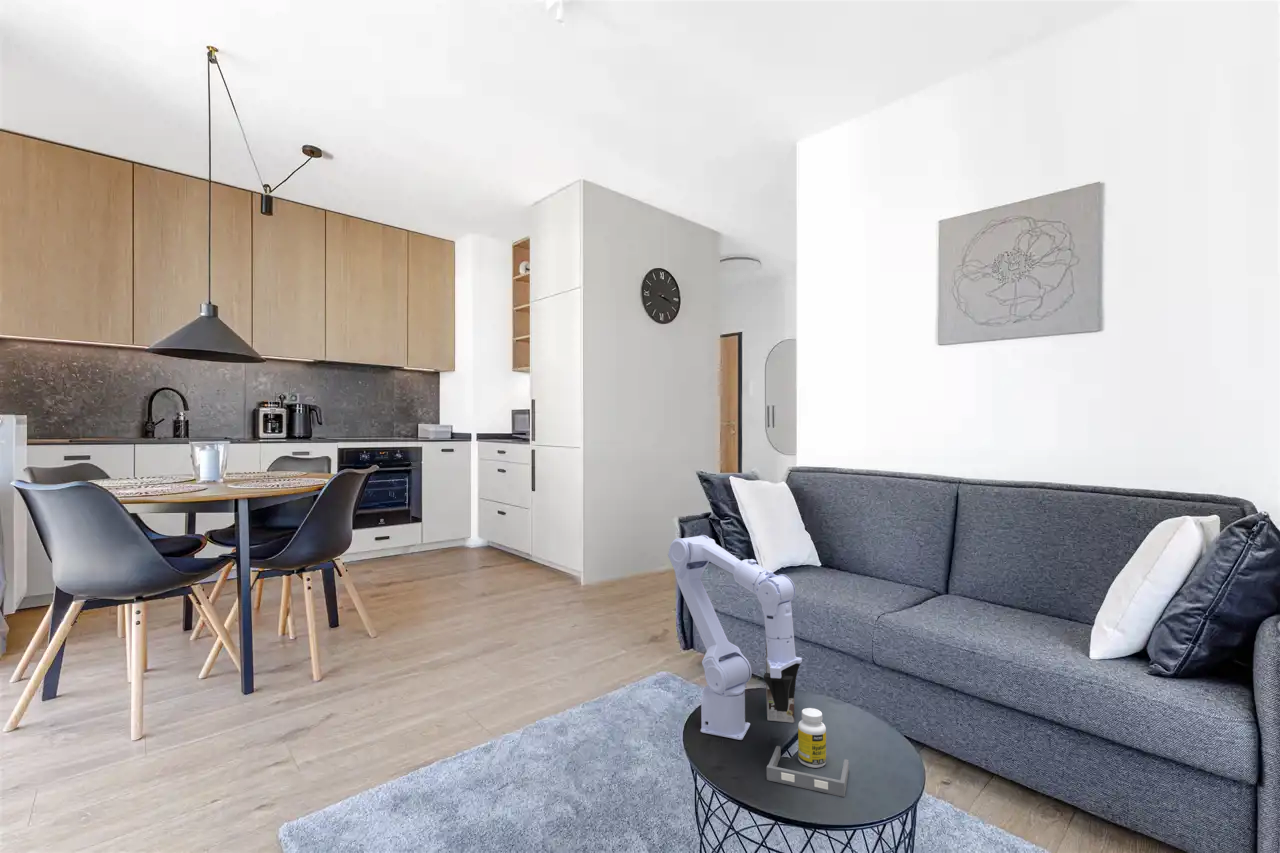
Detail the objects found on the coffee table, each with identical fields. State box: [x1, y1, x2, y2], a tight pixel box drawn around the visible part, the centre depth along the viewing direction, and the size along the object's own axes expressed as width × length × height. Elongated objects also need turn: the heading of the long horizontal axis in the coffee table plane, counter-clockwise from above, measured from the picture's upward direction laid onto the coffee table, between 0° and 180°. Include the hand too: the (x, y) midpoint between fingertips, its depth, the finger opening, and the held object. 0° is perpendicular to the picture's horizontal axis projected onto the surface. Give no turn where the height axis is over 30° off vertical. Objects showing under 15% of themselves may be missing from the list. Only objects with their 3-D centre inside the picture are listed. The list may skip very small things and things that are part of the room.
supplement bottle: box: [797, 707, 827, 769], centre depth 119 cm, size 5×5×10 cm
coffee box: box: [765, 643, 795, 724], centre depth 141 cm, size 9×6×16 cm
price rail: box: [766, 745, 850, 798], centre depth 114 cm, size 14×10×2 cm
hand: (785, 704), depth 121 cm, fingers open, 7 cm apart
